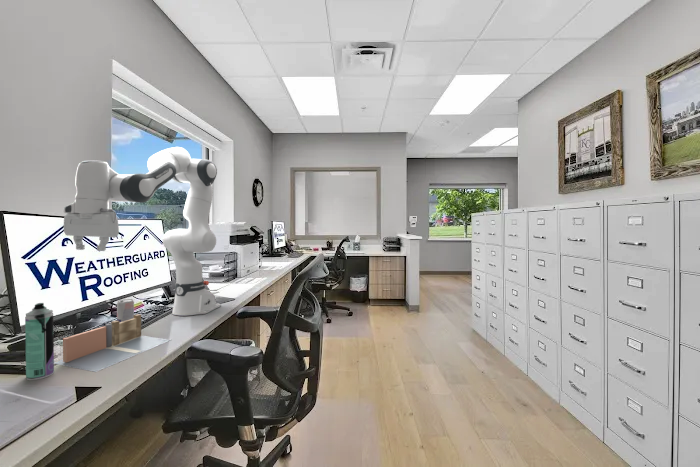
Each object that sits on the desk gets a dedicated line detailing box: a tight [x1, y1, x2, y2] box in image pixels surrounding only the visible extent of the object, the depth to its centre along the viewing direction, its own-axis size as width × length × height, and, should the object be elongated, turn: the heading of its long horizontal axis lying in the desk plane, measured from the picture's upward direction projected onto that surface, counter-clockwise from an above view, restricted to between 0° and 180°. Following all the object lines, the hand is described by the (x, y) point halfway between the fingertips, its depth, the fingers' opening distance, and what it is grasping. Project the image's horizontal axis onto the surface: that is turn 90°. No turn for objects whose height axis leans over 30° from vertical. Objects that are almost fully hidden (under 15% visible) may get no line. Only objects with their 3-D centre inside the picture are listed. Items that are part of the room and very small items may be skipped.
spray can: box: [24, 302, 55, 381], centre depth 87 cm, size 6×6×20 cm
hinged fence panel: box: [62, 323, 112, 363], centre depth 101 cm, size 14×2×7 cm, turn 164°
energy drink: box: [116, 298, 135, 323], centre depth 123 cm, size 5×5×12 cm
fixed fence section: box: [110, 313, 142, 346], centre depth 113 cm, size 10×2×8 cm, turn 163°
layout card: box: [54, 334, 172, 373], centre depth 105 cm, size 26×18×1 cm
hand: (90, 250), depth 107 cm, fingers open, 8 cm apart
